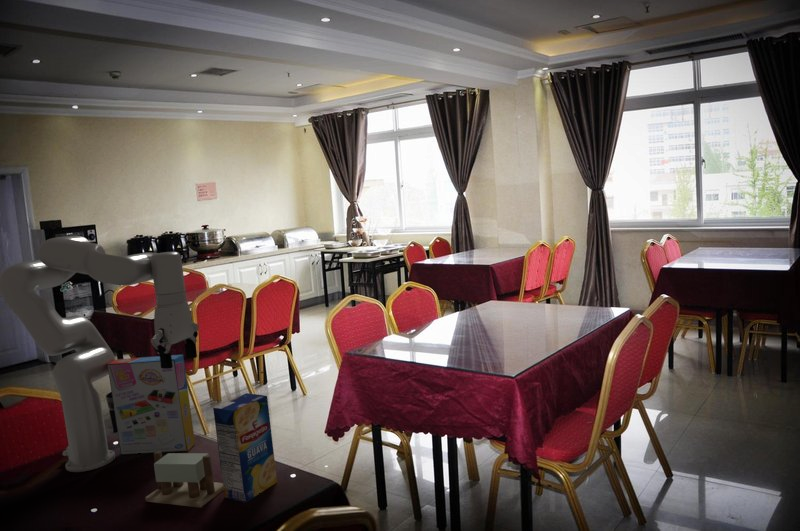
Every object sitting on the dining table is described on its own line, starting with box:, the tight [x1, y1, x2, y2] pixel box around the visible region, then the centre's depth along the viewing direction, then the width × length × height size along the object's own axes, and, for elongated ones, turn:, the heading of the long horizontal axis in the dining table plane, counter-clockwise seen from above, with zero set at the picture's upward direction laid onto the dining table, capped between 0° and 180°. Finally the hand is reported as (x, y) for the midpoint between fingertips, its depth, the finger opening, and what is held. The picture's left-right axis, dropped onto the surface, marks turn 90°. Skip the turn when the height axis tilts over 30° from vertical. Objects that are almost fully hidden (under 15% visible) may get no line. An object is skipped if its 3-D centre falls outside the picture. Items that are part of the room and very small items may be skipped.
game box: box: [107, 354, 196, 456], centre depth 179 cm, size 21×6×27 cm, turn 84°
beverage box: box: [212, 392, 278, 503], centre depth 149 cm, size 7×11×22 cm, turn 149°
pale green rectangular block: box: [153, 452, 210, 483], centre depth 150 cm, size 11×6×4 cm, turn 78°
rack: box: [145, 451, 224, 508], centre depth 150 cm, size 16×10×10 cm, turn 70°
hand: (179, 362), depth 165 cm, fingers open, 9 cm apart
